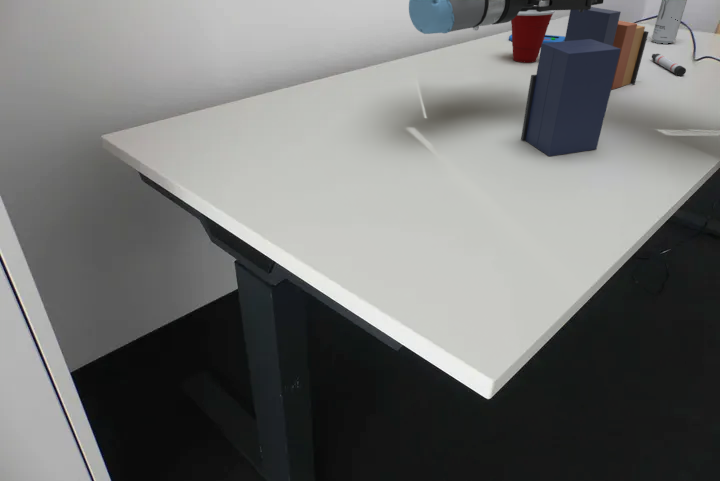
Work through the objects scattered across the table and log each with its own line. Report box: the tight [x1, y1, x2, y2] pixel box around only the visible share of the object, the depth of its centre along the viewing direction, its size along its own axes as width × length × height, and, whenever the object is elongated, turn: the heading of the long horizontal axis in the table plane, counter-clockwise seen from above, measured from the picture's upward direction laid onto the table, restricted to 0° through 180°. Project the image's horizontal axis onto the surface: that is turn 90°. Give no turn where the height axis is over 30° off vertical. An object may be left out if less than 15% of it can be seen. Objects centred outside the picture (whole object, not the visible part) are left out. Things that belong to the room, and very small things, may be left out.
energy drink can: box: [651, 0, 688, 45], centre depth 148 cm, size 6×6×15 cm
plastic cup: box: [510, 10, 556, 64], centre depth 134 cm, size 11×11×12 cm
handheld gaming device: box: [508, 33, 565, 43], centre depth 155 cm, size 8×1×15 cm
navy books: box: [520, 39, 621, 157], centre depth 86 cm, size 8×10×16 cm
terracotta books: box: [611, 20, 650, 91], centre depth 117 cm, size 8×10×13 cm
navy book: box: [564, 6, 621, 46], centre depth 112 cm, size 4×9×16 cm, turn 34°
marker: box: [651, 53, 687, 77], centre depth 130 cm, size 15×2×2 cm, turn 179°
